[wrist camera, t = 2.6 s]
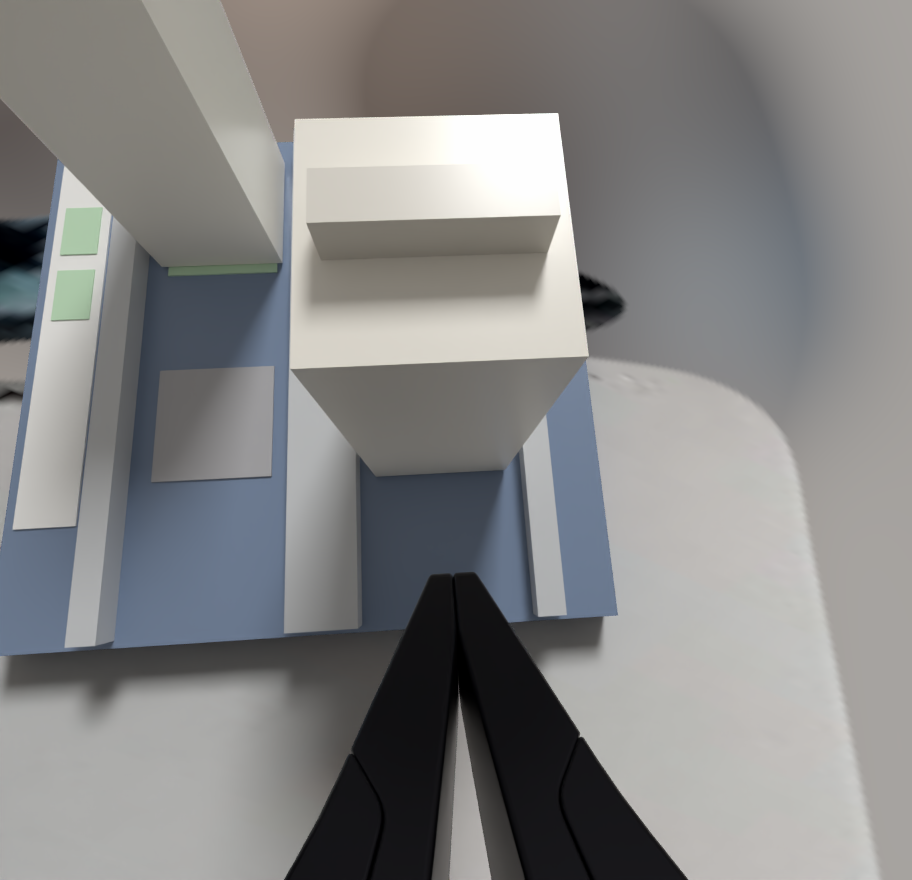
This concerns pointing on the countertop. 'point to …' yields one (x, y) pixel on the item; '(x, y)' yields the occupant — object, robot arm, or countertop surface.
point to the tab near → (434, 285)
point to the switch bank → (247, 471)
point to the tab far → (151, 121)
